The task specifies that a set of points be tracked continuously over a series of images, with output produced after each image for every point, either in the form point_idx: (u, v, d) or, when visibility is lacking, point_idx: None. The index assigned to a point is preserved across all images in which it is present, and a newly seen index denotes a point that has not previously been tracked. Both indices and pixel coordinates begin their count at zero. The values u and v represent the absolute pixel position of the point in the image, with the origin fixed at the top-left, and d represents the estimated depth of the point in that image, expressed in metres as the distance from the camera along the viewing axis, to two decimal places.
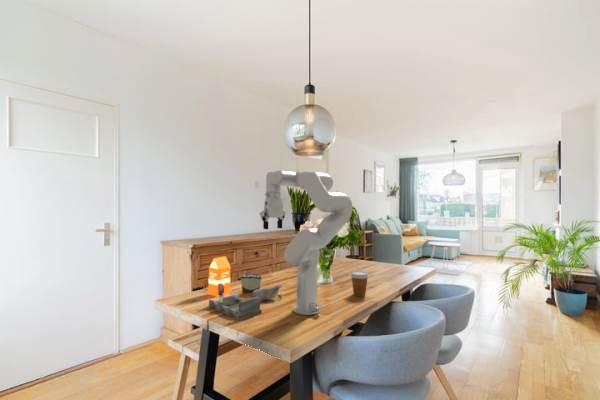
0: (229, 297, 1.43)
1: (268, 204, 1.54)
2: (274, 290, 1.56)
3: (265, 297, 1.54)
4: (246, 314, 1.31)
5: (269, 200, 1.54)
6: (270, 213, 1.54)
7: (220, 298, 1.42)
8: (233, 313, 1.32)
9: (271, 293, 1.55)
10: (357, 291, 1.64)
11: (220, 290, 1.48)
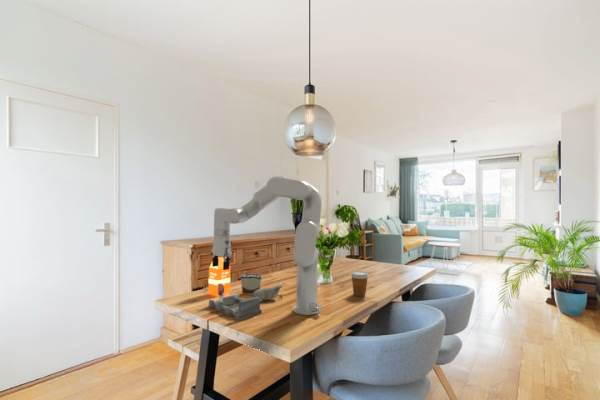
0: (229, 297, 1.43)
1: (229, 243, 1.48)
2: (275, 290, 1.56)
3: (266, 297, 1.54)
4: (246, 314, 1.31)
5: (229, 238, 1.48)
6: None
7: (220, 298, 1.42)
8: (233, 313, 1.32)
9: (272, 293, 1.55)
10: (357, 291, 1.64)
11: (220, 290, 1.48)
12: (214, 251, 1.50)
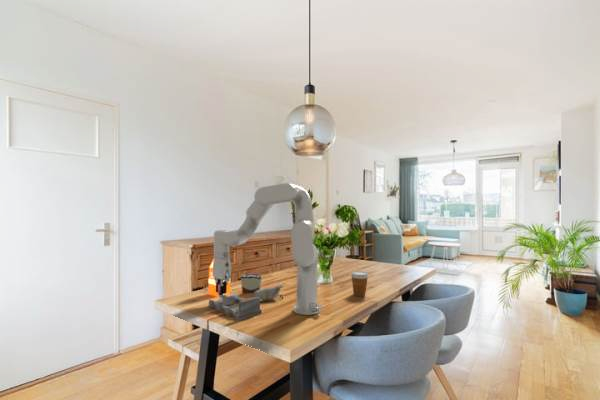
0: (229, 297, 1.43)
1: (229, 265, 1.48)
2: (276, 290, 1.56)
3: (267, 297, 1.54)
4: (246, 314, 1.31)
5: (229, 261, 1.48)
6: None
7: (220, 298, 1.42)
8: (233, 313, 1.32)
9: (273, 293, 1.54)
10: (357, 291, 1.64)
11: None
12: (214, 273, 1.50)
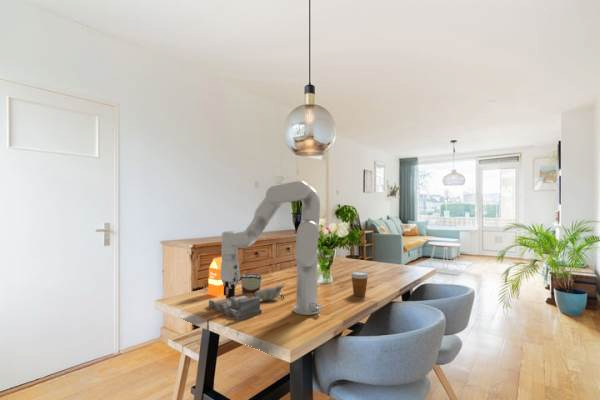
0: (238, 300, 1.38)
1: (238, 267, 1.43)
2: (276, 290, 1.56)
3: (268, 297, 1.54)
4: (246, 314, 1.31)
5: (238, 263, 1.43)
6: None
7: (228, 301, 1.37)
8: (233, 313, 1.32)
9: (274, 293, 1.54)
10: (357, 291, 1.64)
11: None
12: (222, 276, 1.45)
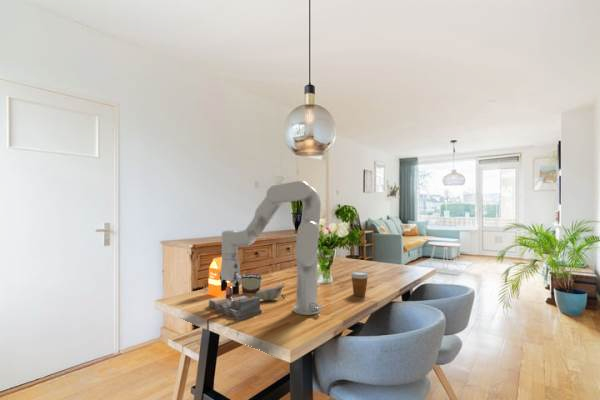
0: (238, 300, 1.38)
1: (238, 266, 1.43)
2: (277, 290, 1.56)
3: (269, 297, 1.53)
4: (246, 314, 1.31)
5: (238, 262, 1.43)
6: None
7: (228, 301, 1.37)
8: (233, 313, 1.32)
9: (275, 293, 1.54)
10: (357, 291, 1.64)
11: (229, 293, 1.43)
12: (222, 275, 1.45)
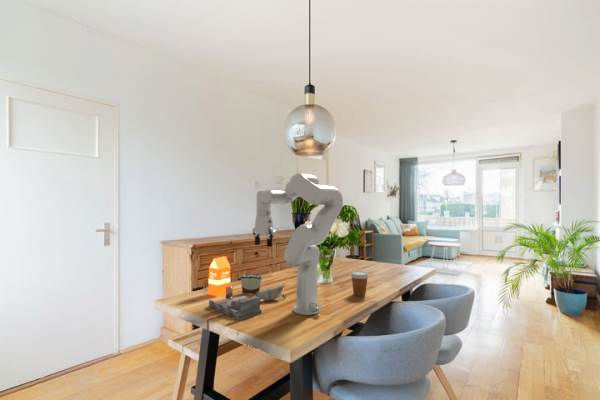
0: (238, 300, 1.38)
1: (271, 222, 1.62)
2: (278, 290, 1.56)
3: (270, 297, 1.53)
4: (246, 314, 1.31)
5: (271, 218, 1.62)
6: None
7: (228, 301, 1.37)
8: (233, 313, 1.32)
9: (275, 293, 1.54)
10: (357, 291, 1.64)
11: (229, 293, 1.43)
12: (257, 230, 1.63)
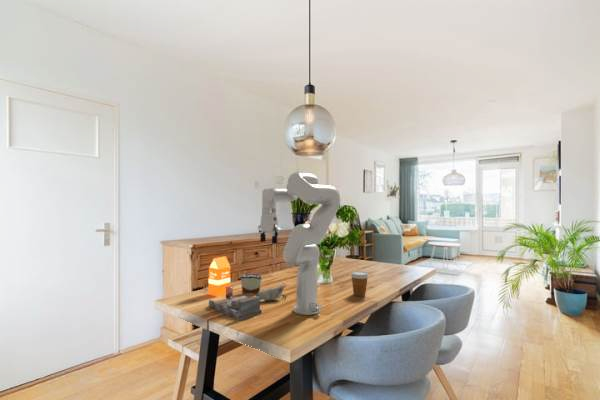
0: (238, 300, 1.38)
1: (277, 219, 1.65)
2: (279, 290, 1.55)
3: (270, 297, 1.53)
4: (246, 314, 1.31)
5: (276, 216, 1.65)
6: None
7: (228, 301, 1.37)
8: (233, 313, 1.32)
9: (276, 293, 1.54)
10: (357, 291, 1.64)
11: (229, 293, 1.43)
12: (262, 228, 1.67)
